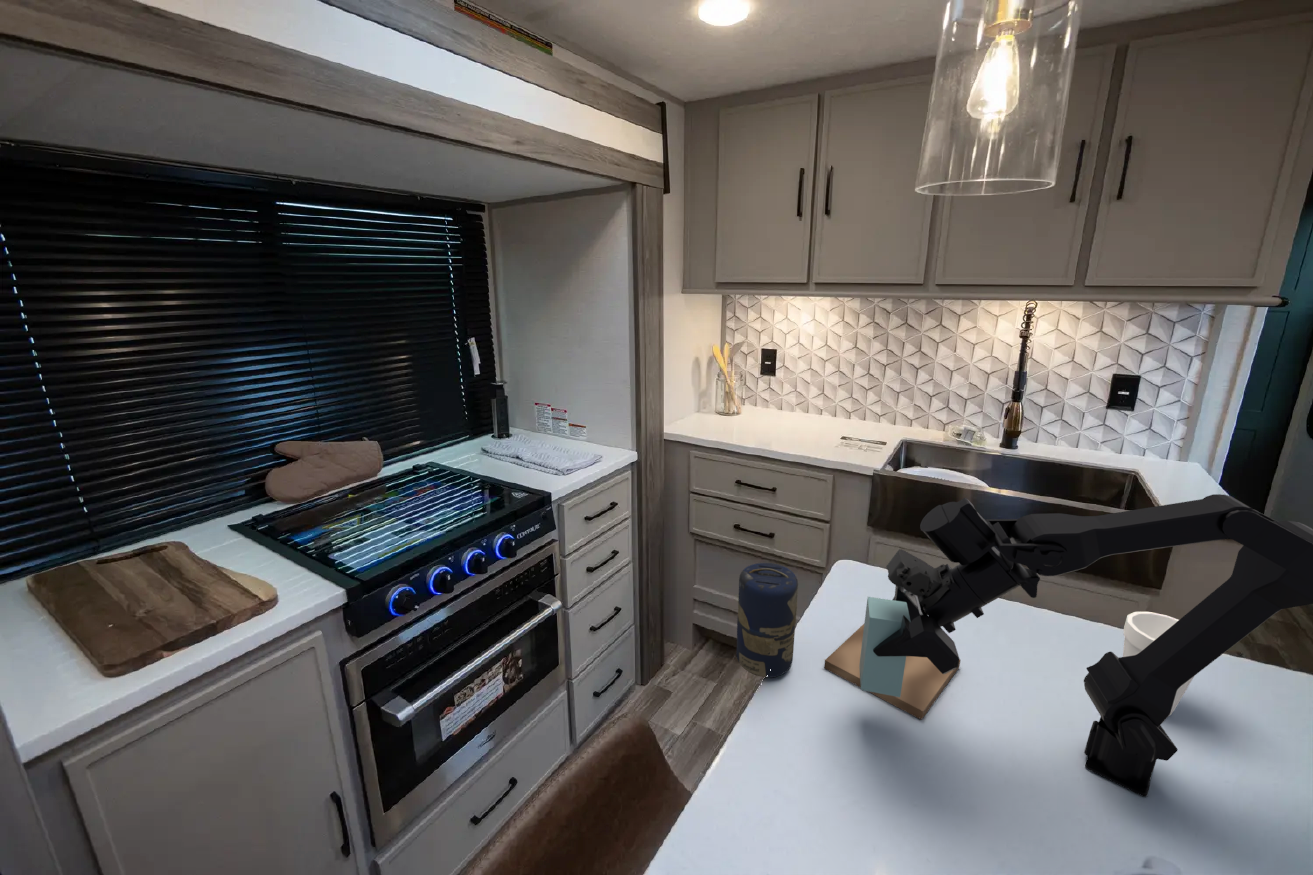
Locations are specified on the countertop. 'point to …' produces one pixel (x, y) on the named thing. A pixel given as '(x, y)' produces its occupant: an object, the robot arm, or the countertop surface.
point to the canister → (766, 619)
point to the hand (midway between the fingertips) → (873, 640)
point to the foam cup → (1148, 638)
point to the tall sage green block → (878, 626)
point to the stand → (918, 677)
